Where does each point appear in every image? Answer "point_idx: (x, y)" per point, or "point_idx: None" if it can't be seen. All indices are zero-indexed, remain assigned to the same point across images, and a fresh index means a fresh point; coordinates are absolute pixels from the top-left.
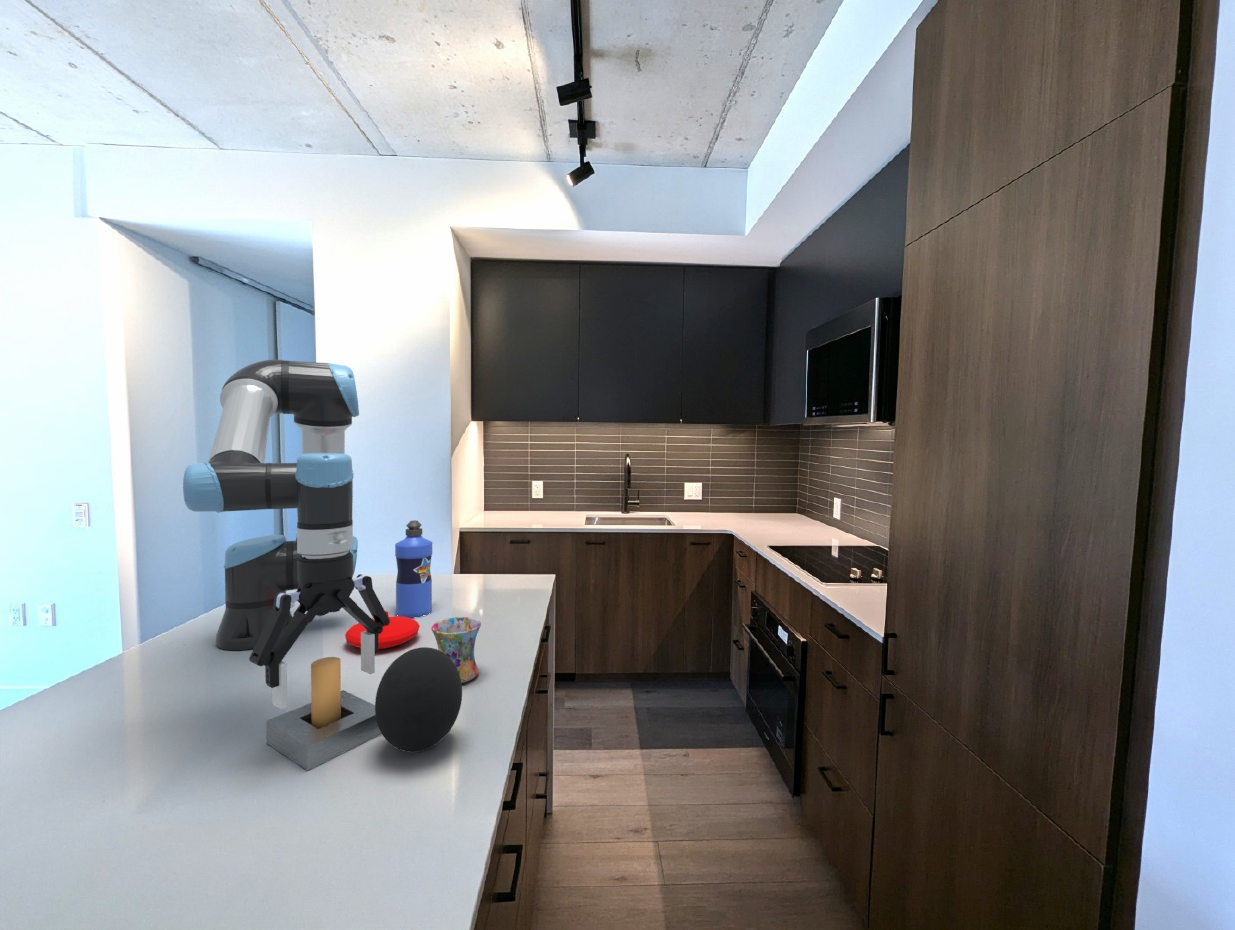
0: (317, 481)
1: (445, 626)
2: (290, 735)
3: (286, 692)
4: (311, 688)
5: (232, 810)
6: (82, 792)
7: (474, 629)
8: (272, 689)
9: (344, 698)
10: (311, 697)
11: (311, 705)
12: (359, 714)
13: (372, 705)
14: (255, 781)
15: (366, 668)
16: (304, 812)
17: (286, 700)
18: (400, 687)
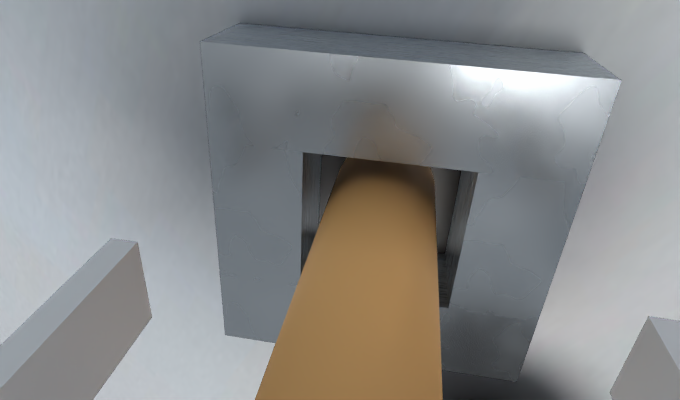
0: None
1: None
2: (217, 241)
3: (104, 379)
4: (288, 309)
5: (77, 261)
6: None
7: None
8: (54, 297)
9: (536, 171)
10: (301, 273)
11: (311, 246)
12: (447, 329)
13: (528, 323)
14: (142, 206)
15: (635, 385)
16: (181, 380)
17: (130, 342)
18: None
